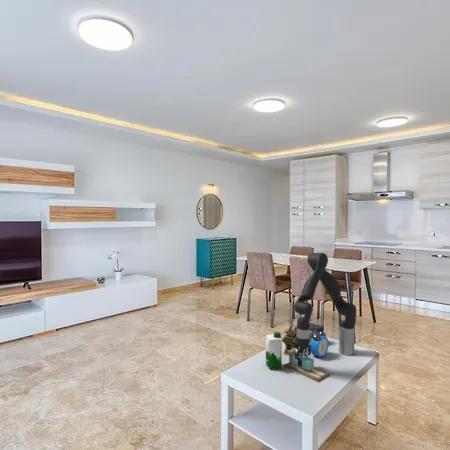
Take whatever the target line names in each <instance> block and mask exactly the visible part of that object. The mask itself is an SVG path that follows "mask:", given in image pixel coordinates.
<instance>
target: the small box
mask: <svg viewBox="0 0 450 450" xmlns="http://www.w3.org/2000/svg"><path fill="white" fill-rule="evenodd" d="M324 329H325V328H324V325H320V324H317V323H312V322H309V331H310V342H311V339H312V336H313V334H318V333H319V332H320V331H322V332H325V331H324ZM322 336H323V335H322Z"/></svg>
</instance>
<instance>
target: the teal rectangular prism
mask: <svg viewBox="0 0 450 450" xmlns="http://www.w3.org/2000/svg"><path fill="white" fill-rule="evenodd" d="M300 357H301V356H300ZM292 364H294V365H297V366H298V360H297V359H295V354H293V355H292ZM299 367H300V366H299ZM314 367H315V359H314V358H311V357H309V356H308V357H306V356H304V355H303V357H302V366H301V368H303V369H306V370H308V371H310V370H312V369H313V368H314Z"/></svg>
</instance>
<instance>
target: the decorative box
mask: <svg viewBox="0 0 450 450" xmlns="http://www.w3.org/2000/svg"><path fill="white" fill-rule="evenodd" d="M289 324H290V325H291V326H293V327H294V328H292V327H291V326H290V327H289V328H288V329H287V330H286V331H284V333H285V335H284V336H283V337H281V338H282V343H283V344H284V346H285V348H284V350H283V354H284V355H287V356H289V353H288V350H292V348H298V344H297V343H296V337H297V325H294V324H293V323H291V322H289ZM292 355H293V354H292Z"/></svg>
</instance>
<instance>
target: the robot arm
mask: <svg viewBox="0 0 450 450" xmlns="http://www.w3.org/2000/svg"><path fill="white" fill-rule="evenodd" d="M328 262H329V258H328V255H327V254H326V253H323V252H313V253H312V252H311V253H309V254H308V256H307V263H308V265H309V267H310V268H311V270H312V271H313V273H312V274H311V275H310V276H309V277H308V279H306V281H305V283H304V284H303V288H302V291H301V293H300V295H299V296H298V298H297V300H295V303H294V306H293V309H294V312H295V313H297V314H299V315H304V316H303V317H301V316H300V317H298V318H297V320H296V326H297V337H296V343H297V344H298V348H297V350H294V353H295V359H297V360H298V366H300V367H301V366H302V357H303V355H304V356H306V357H309V356H310V355H311V345H310V331H309V323H311V322H310V320H311V317H312V314H313V311H314V308H313V305H312V304H311V303H310V302H307V301H311V300H313V299H314V296H315V293H316V291H317V287H318V284H319V282H321V284H322V285H323V286H322V287H324V289H325V291H326V292H327V294H328V295H329V297H330V299H331V301H332V302H333V304H334V307H335V309H336V311H337V313H338V314H340V315H341V316H343V317H344V320H340V321H339V331H338V332H339V334H338V335H339V337H338V339H339V340H338V352H339V353H340V354H341V355H343V356H354V355H355V326H356V322H357V306H356V305H355V304H353V303H350V302H349V301H346V300H344V298H343V296H342V295H341V294H342V293H341V292H342V287H341V285H340V283H339V281H338V280H337V278H336V277H335V276H334V275H333V274H331V273H330V272H329V271H328V270H326V269H327V266H328ZM300 356H301V357H300Z"/></svg>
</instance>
